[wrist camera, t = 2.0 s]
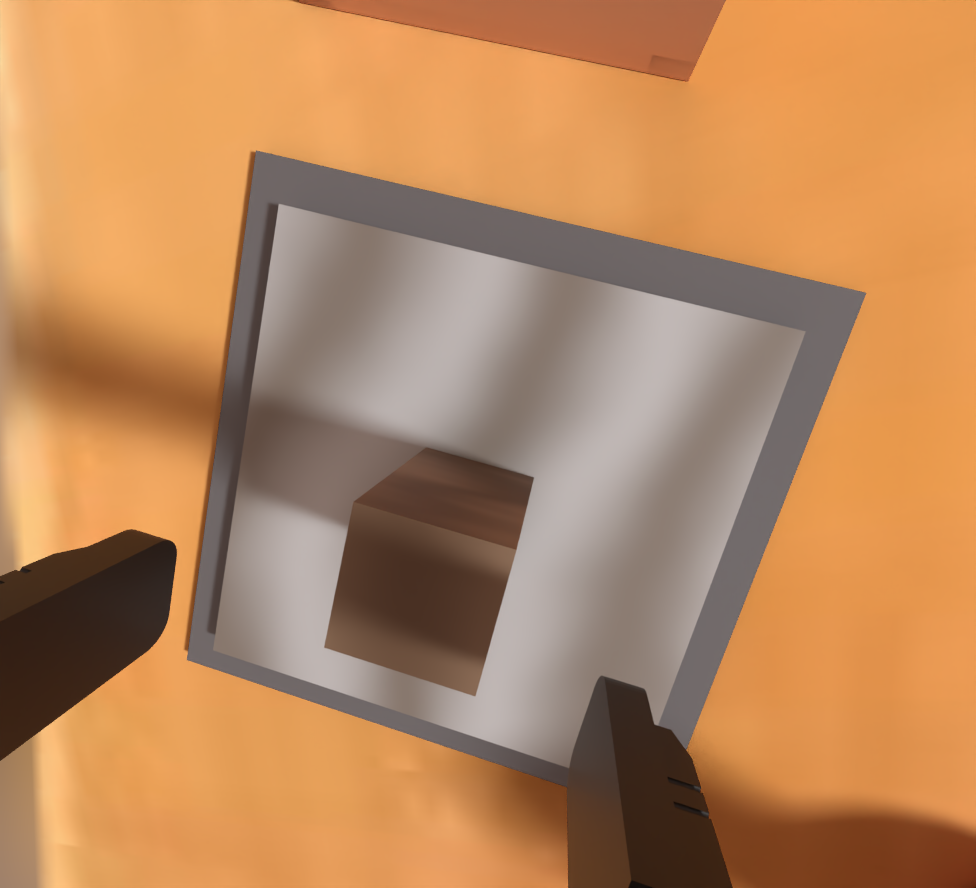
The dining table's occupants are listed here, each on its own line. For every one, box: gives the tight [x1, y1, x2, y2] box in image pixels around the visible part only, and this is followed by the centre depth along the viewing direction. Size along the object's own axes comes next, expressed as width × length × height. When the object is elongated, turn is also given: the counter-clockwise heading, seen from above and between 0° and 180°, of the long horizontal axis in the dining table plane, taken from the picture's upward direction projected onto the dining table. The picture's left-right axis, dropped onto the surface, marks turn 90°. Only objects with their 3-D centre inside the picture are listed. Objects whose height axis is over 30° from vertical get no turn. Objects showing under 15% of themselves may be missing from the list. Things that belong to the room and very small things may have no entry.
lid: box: [213, 204, 806, 768], centre depth 15 cm, size 16×16×7 cm
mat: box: [187, 151, 866, 787], centre depth 18 cm, size 19×19×1 cm
